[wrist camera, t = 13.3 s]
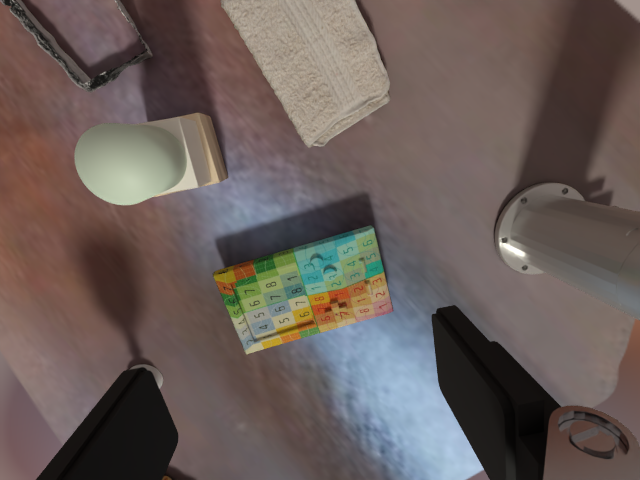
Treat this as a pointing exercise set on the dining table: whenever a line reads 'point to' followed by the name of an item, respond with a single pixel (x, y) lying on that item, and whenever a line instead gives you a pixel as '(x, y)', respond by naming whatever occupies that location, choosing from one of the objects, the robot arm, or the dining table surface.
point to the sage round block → (129, 161)
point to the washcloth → (314, 61)
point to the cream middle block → (187, 151)
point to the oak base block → (208, 148)
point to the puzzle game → (306, 289)
